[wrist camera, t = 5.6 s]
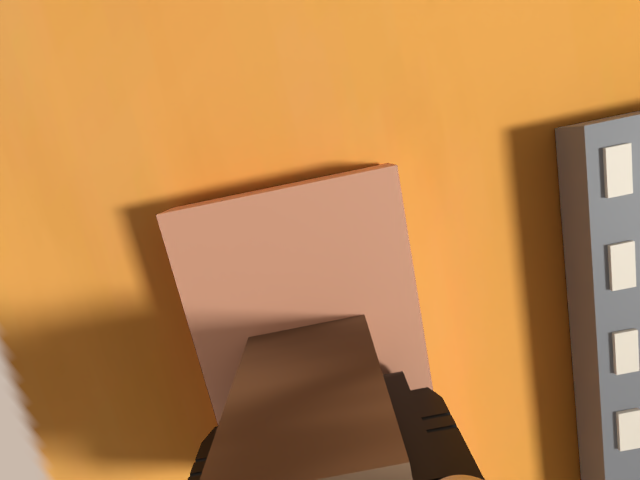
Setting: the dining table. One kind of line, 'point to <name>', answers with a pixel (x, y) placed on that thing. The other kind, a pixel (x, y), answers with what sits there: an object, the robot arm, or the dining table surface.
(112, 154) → the dining table surface
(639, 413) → the grey slab
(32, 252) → the dining table surface
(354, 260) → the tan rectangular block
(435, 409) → the robot arm
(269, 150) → the dining table surface
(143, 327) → the dining table surface
